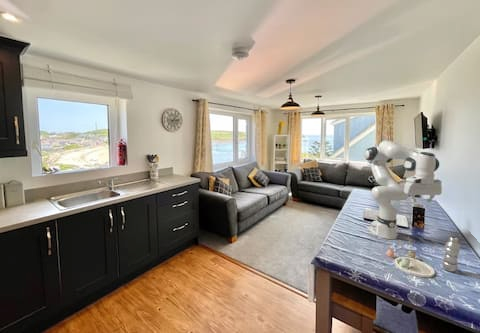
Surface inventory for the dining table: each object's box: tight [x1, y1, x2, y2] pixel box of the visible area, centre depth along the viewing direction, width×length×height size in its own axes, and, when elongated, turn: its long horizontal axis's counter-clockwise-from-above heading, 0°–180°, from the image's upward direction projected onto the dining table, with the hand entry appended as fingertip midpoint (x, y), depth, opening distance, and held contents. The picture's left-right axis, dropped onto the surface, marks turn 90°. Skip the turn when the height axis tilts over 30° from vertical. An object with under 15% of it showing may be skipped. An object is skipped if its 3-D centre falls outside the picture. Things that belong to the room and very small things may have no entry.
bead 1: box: [386, 248, 395, 259], centre depth 140 cm, size 4×4×5 cm
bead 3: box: [407, 250, 416, 259], centre depth 139 cm, size 4×4×5 cm
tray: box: [394, 256, 436, 279], centre depth 129 cm, size 18×18×2 cm
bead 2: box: [401, 258, 410, 269], centre depth 129 cm, size 4×4×5 cm
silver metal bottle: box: [441, 235, 461, 273], centre depth 127 cm, size 6×7×20 cm
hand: (421, 201), depth 135 cm, fingers open, 8 cm apart
